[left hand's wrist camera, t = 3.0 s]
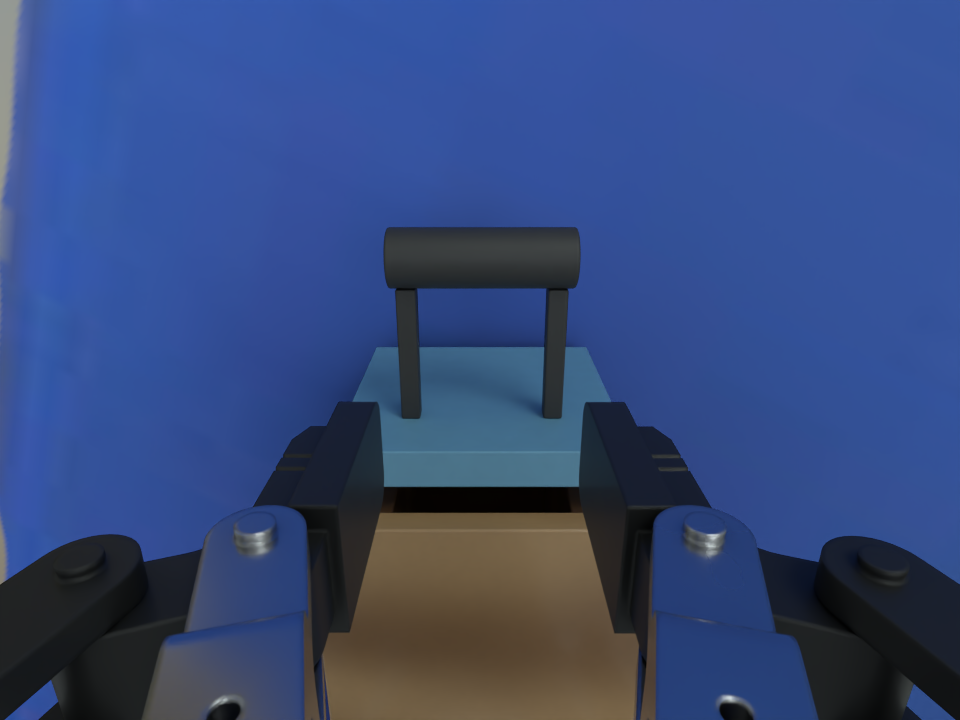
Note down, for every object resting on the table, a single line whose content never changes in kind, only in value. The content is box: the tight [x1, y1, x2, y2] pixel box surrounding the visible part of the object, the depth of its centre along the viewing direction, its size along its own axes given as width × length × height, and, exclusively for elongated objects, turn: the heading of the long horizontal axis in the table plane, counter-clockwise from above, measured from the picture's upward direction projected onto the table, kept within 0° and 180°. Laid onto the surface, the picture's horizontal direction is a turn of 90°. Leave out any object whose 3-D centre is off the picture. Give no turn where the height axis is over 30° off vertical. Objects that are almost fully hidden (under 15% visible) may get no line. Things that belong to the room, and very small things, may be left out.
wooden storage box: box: [322, 513, 639, 720], centre depth 27 cm, size 21×10×11 cm, turn 0°
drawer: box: [352, 227, 611, 513], centre depth 25 cm, size 26×9×9 cm, turn 0°
